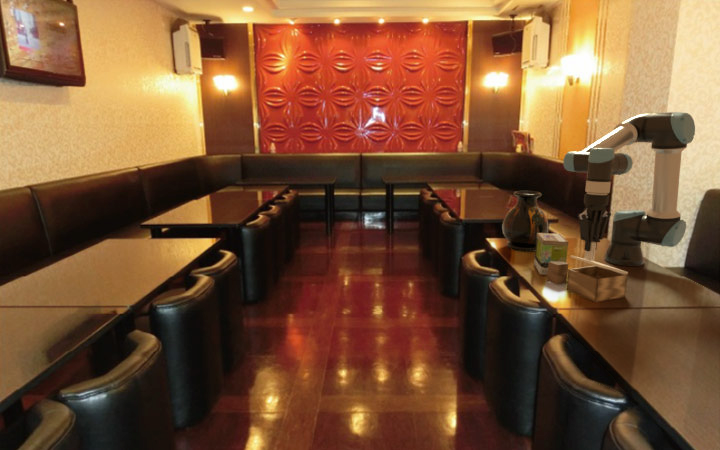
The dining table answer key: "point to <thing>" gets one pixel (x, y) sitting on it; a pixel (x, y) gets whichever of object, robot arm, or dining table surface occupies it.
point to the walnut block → (557, 272)
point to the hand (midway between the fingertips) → (589, 259)
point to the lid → (599, 264)
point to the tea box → (549, 250)
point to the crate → (596, 283)
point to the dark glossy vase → (524, 222)
